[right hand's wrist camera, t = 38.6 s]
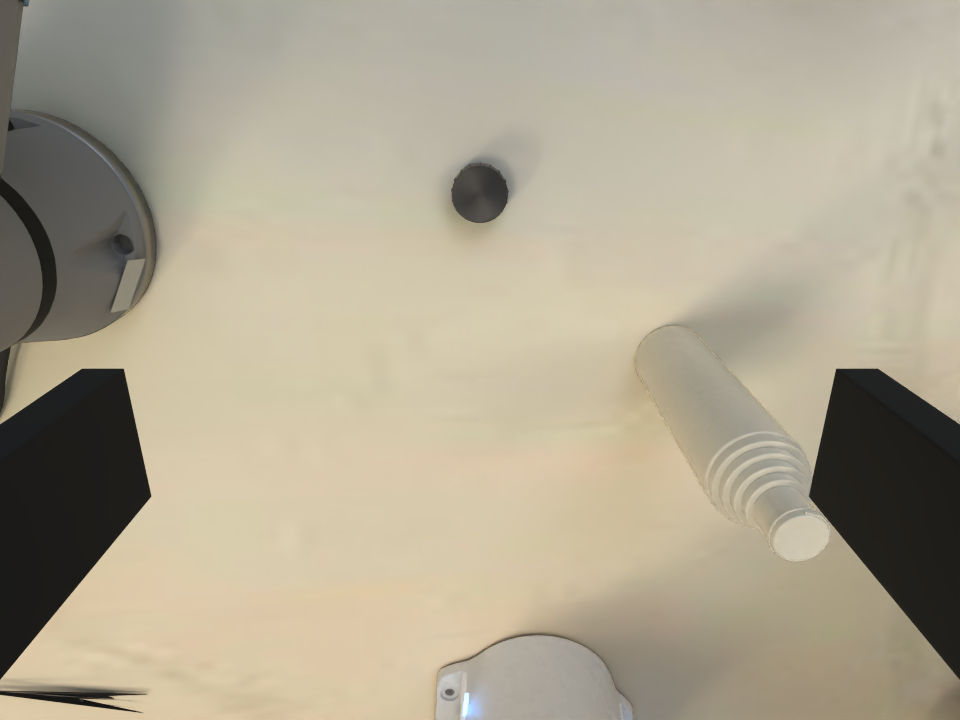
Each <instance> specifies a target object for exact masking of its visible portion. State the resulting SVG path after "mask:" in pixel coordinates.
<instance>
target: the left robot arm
mask: <svg viewBox="0 0 960 720" xmlns="http://www.w3.org/2000/svg"><path fill="white" fill-rule="evenodd" d="M633 719H634V716H633V708H632V705H631V704H630V702H629V701H628V700H627V699H626V698H625V697H624V696H623V695H621V694H620V693H619V692H618V691H617V690H616V688H615V686H614V683H613V680H612V677H611V674H610V672H609V670H608V668H607V667H606V665H605V664H604V663H603V661H602V660H601V659H600V658H599V657H598V656H597V655H596V654H595V653H593V652H592V651H591V650H589V649H588V648H586V647H584V646H582V645H580V644H578V643H576V642H573V641H571V640H568V639H564V638H560V637H555V636H546V635H531V636H522V637H517V638H512V639H509V640H505V641H503V642H500V643H498V644H495V645H493V646H491V647H490V648H488V649H486V650H485V651H483V652H482V653H480V654H479V655H477V656H476V657H474V658H472V659H470V660H468V661H464V662H460V663H456V664H452V665H449V666H446V667H444V668H442V669H441V670H440V671H439V672H438V675H437V687H436V704H435V720H633Z"/></svg>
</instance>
